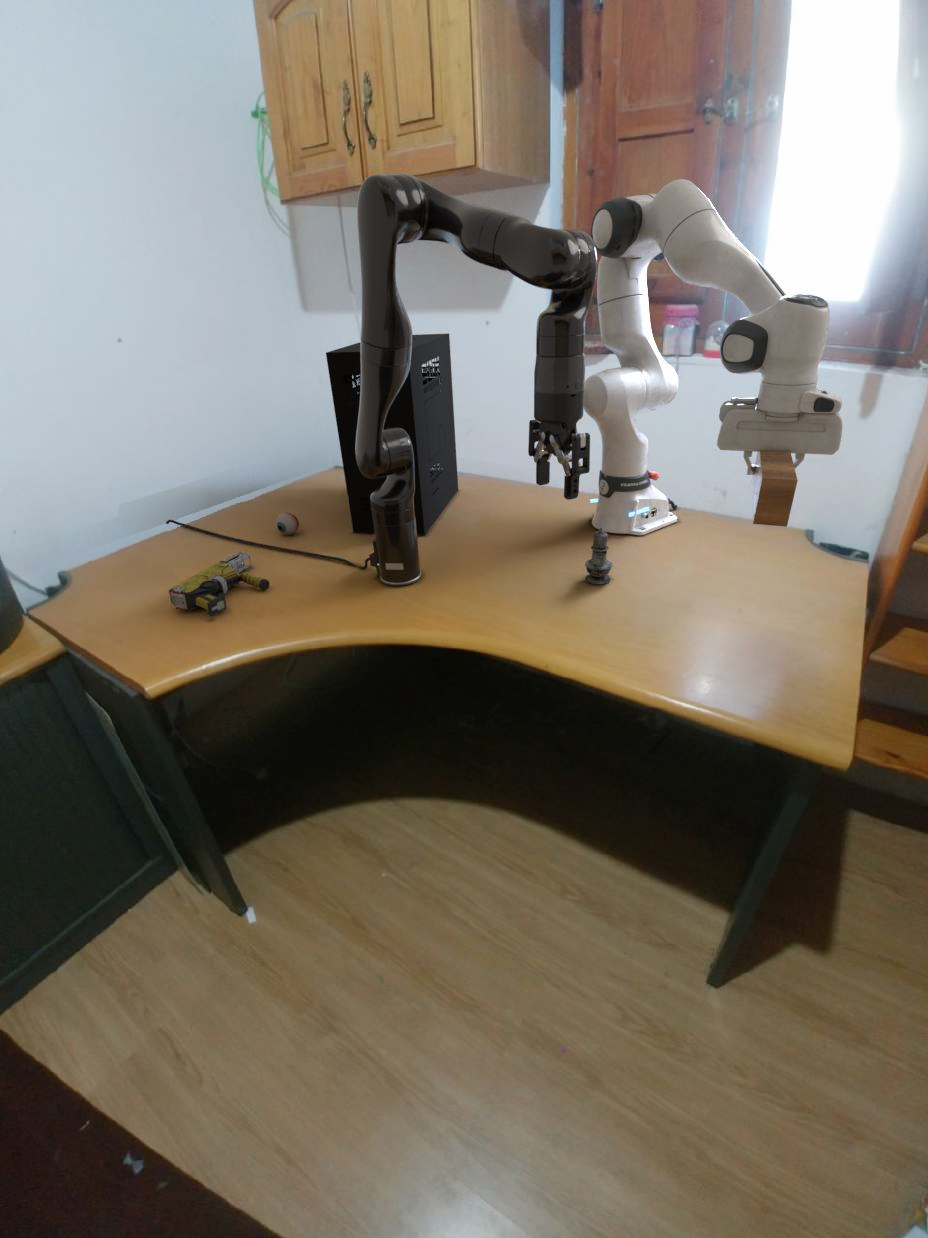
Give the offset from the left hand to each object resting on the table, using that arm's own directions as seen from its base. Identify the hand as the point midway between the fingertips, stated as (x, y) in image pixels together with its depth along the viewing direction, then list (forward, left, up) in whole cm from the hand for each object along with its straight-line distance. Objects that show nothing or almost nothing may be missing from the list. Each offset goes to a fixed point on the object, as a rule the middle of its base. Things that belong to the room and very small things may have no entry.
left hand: (556, 491), depth 99 cm
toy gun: (-70, -19, -28) cm, 78 cm away
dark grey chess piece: (-3, +26, -28) cm, 38 cm away
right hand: (+25, +38, -4) cm, 45 cm away
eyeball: (-87, +11, -28) cm, 92 cm away
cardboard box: (-69, +41, -28) cm, 85 cm away
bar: (+27, +30, -7) cm, 41 cm away
